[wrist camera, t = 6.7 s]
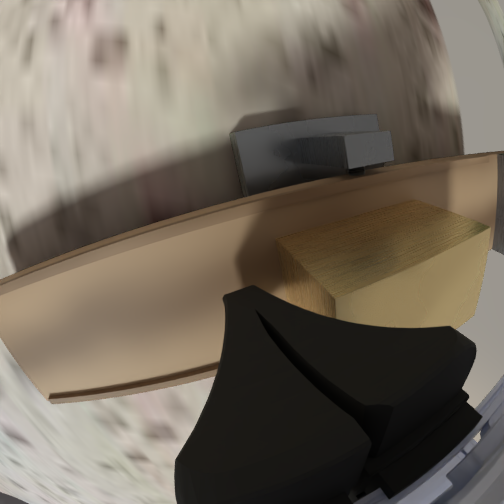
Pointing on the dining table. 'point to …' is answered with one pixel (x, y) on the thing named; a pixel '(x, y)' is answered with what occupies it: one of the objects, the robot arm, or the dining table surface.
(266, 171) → the pivot stand
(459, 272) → the block
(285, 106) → the dining table surface
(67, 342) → the beam
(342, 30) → the dining table surface
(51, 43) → the dining table surface
